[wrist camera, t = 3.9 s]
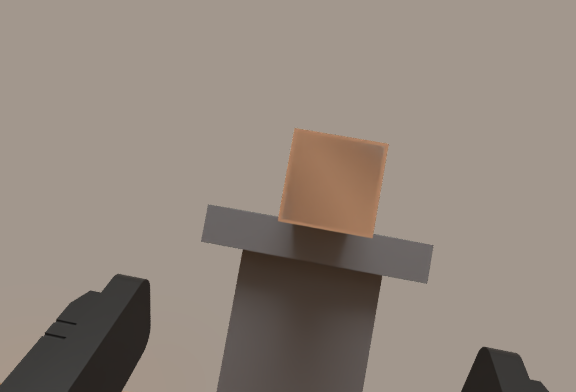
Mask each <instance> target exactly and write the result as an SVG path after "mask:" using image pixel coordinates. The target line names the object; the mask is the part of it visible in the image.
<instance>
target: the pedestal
mask: <svg viewBox="0 0 576 392" xmlns="http://www.w3.org/2000/svg"><path fill="white" fill-rule="evenodd" d="M201 241H202V242H206V243H212V244H217V245H222V246H228V247H233V248H238V249H243V252H242V257H241V263H240V268H239V273H238V279H237V284H236V290H235V295H234V301H233V307H232V311H231V317H230V322H229V328H228V333H227V338H226V344H225V350H224V355H223V360H222V366H221V371H220V376H219V382H218V388H217V392H362V391H363V385H364V379H365V373H366V368H367V362H368V356H369V350H370V344H371V338H372V332H373V327H374V321H375V315H376V309H377V303H378V297H379V291H380V286H381V280H382V275H383V276H388V277H394V278H399V279H404V280H410V281H416V282H421V283H426V284H427V281H428V274H429V269H430V262H431V257H432V251H433V245H429V244H424V243H418V242H413V241H408V240H403V239H398V238H392V237H387V236H382V235H376V234H373V238H368V237H362V236H357V235H351V234H346V233H340V232H335V231H329V230H324V229H318V228H313V227H307V226H302V225H296V224H291V223H285V222H280V221H278V217H277V216H272V215H266V214H261V213H255V212H249V211H243V210H237V209H232V208H226V207H220V206H214V205H208V208H207V214H206V219H205V224H204V230H203V235H202V240H201Z"/></svg>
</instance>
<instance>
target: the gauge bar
mask: <svg viewBox="0 0 576 392" xmlns="http://www.w3.org/2000/svg"><path fill="white" fill-rule="evenodd" d="M388 145H389V144H386V143H380V142H374V141H368V140H362V139H357V138H351V137H345V136H339V135H332V134H327V133H321V132H315V131H309V130H303V129H297V128H295V129H294V134H293V140H292V145H291V151H290V156H289V162H288V168H287V173H286V178H285V184H284V189H283V195H282V200H281V206H280V212H279V217H278V221H280V222H285V223H291V224H296V225H302V226H307V227H313V228H318V229H324V230H329V231H335V232H340V233H346V234H351V235H357V236H362V237H368V238H373V232H374V227H375V221H376V215H377V209H378V202H379V198H380V191H381V186H382V179H383V173H384V168H385V163H386V156H387V151H388Z"/></svg>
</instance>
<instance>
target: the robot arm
mask: <svg viewBox="0 0 576 392" xmlns="http://www.w3.org/2000/svg"><path fill="white" fill-rule="evenodd" d="M149 334H150V283H149V281H148V280H147V279H142V278H137V277H131V276H126V275H121V274H117V275H115V276H114V277H113V278H112V279H111V281H110V282H109V283H108V285H107V286H106V287H105V288H104V290H103V291H102V292H101V293H100V292H95V291H89V292H88V293H86V294H84V295H82V296H81V297H79V298H78V299H76V300H74V301H73V302H71V303H70V304H69V305H68V306H67V307H66V309H65V310H64V311H63V312H62V313H61V315H60V316H59V317H58V318H57V320H56V322H55V323H53V324H52V325H51V326H50V328H49V329H48V330H47V331H46V332H45V335H44V337H43V336H42V337H41V338H40V339H39V340H38V342H37V343H36V344H35V345H34V346H33V348H32V349H31V350H30V351H29V352H28V353H27V355H26V356H25V357H24V358H23V359H22V360H21V362H20V363H19V364H18V365H17V366H16V367H15V369H14V370H13V371H12V372H11V373H10V375H9V376H8V377H7V378H6V379H5V380H4V382H3V383H2V384H1V385H0V392H122V390H123V388H124V386H125V384H126V382H127V381H128V379H129V377H130V376H131V374H132V372H133V370H134V368H135V366H136V365H137V363H138V361H139V359H140V358H141V356H142V354H143V352H144V350H145V348H146V345H147V342H148V338H149ZM461 392H549V391H548V390H547V389H546V388H545V386H544V385H543V384H542V383H541V382H539V381H534V380H530V379H529V376H528V374H527V371H526V368H525V366H524V363H523V361H522V359H521V357H520V356H519V355H518V354H517V353H513V352H508V351H503V350H498V349H493V348H488V347H482V348H481V349H480V350H479V352H478V354H477V356H476V359H475V361H474V363H473V366H472V368H471V370H470V373H469V375H468V377H467V380H466V382H465V384H464V386H463V389H462V391H461Z"/></svg>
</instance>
